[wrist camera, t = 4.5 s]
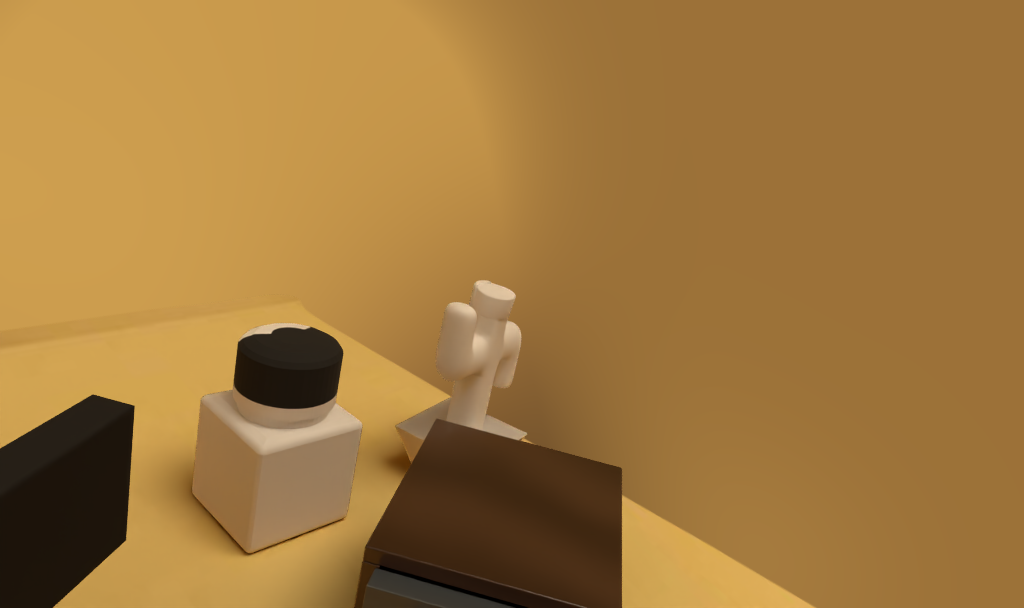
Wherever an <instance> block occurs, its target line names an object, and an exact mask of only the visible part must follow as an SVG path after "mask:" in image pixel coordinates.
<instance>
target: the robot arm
mask: <svg viewBox="0 0 1024 608" xmlns="http://www.w3.org/2000/svg"><path fill="white" fill-rule="evenodd" d="M133 422H134V406H133V405H129V404H126V403H122V402H118V401H115V400H111V399H107V398H104V397H100V396H97V395H91V396H89V397H88V398H86V399H84V400H83V401H81V402H79V403H77V404H76V405H74V406H72V407H71V408H69V409H67V410H65V411H64V412H62V413H60V414H59V415H57V416H55V417H54V418H52V419H50V420H48V421H47V422H45V423H43V424H42V425H40V426H38V427H36V428H35V429H33V430H31V431H30V432H28V433H26V434H24V435H23V436H21V437H19V438H18V439H16V440H14V441H13V442H11V443H9V444H7V445H6V446H4V447H2V448H1V449H0V608H53V607H54V606H55V605H56V604H57V603H58V602H59V601H60V600H61V599H63V598H64V597H65V596H66V595H67V594H68V593H69V592H70V591H71V590H72V589H73V588H75V587H76V586H77V585H78V584H79V583H80V582H81V581H82V580H83V579H84V578H85V577H86V576H88V575H89V574H90V573H91V572H92V571H93V570H94V569H95V568H96V567H97V566H98V565H100V564H101V563H102V562H103V561H104V560H105V559H106V558H107V557H108V556H109V555H110V554H112V553H113V552H114V551H115V550H116V549H117V548H118V547H119V546H120V545H121V544H122V543H123V542H125V541H126V532H127V516H128V500H129V485H130V469H131V453H132V438H133Z"/></svg>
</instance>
